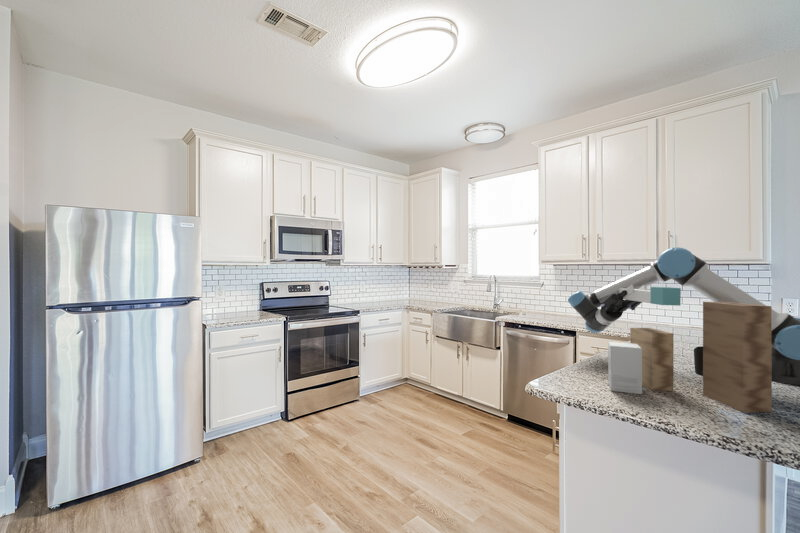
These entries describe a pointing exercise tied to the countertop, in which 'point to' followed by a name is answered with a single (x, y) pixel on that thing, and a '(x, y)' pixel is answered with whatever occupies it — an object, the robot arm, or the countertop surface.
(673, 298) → the teal and white bar
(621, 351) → the supplement box
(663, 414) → the countertop surface
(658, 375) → the wooden block
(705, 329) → the tall block
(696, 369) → the pen holder
